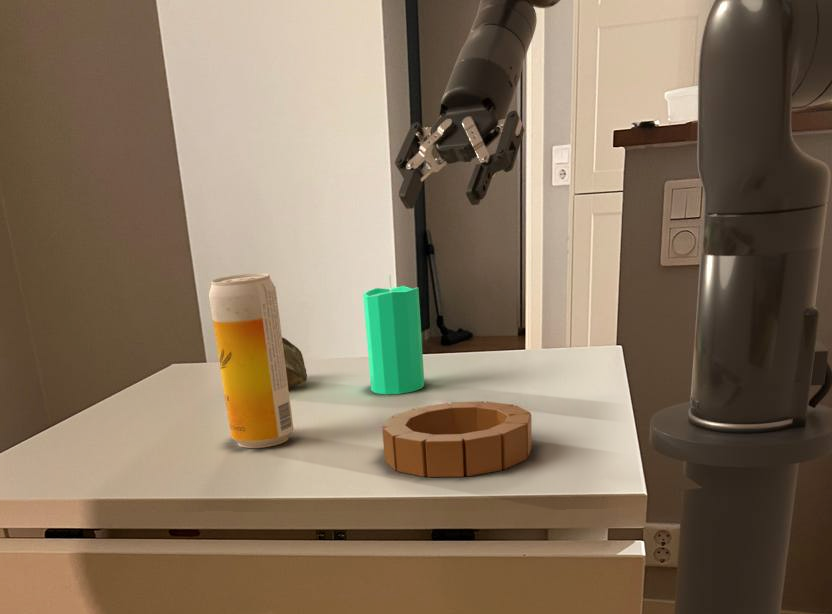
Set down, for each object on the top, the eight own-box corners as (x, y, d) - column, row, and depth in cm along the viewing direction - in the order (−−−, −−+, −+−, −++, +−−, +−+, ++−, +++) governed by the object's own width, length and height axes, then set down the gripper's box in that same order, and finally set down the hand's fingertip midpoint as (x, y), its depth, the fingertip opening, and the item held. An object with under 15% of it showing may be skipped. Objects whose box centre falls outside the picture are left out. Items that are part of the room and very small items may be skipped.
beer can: (249, 431, 96) (226, 274, 90) (304, 432, 94) (284, 271, 87) (221, 449, 91) (194, 284, 85) (278, 450, 89) (255, 281, 82)
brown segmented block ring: (536, 432, 86) (536, 399, 85) (522, 476, 76) (521, 439, 74) (403, 435, 90) (400, 403, 88) (371, 478, 79) (368, 442, 78)
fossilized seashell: (220, 365, 116) (245, 393, 108) (242, 314, 114) (269, 339, 106) (273, 387, 120) (300, 415, 113) (295, 338, 118) (325, 364, 110)
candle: (426, 391, 105) (419, 275, 99) (372, 396, 105) (362, 281, 99) (422, 379, 110) (415, 268, 104) (370, 384, 110) (361, 274, 105)
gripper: (416, 64, 110) (370, 182, 107) (529, 46, 103) (482, 173, 100) (442, 114, 116) (399, 227, 114) (550, 101, 109) (507, 222, 106)
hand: (438, 201), depth 107 cm, fingers open, 8 cm apart
